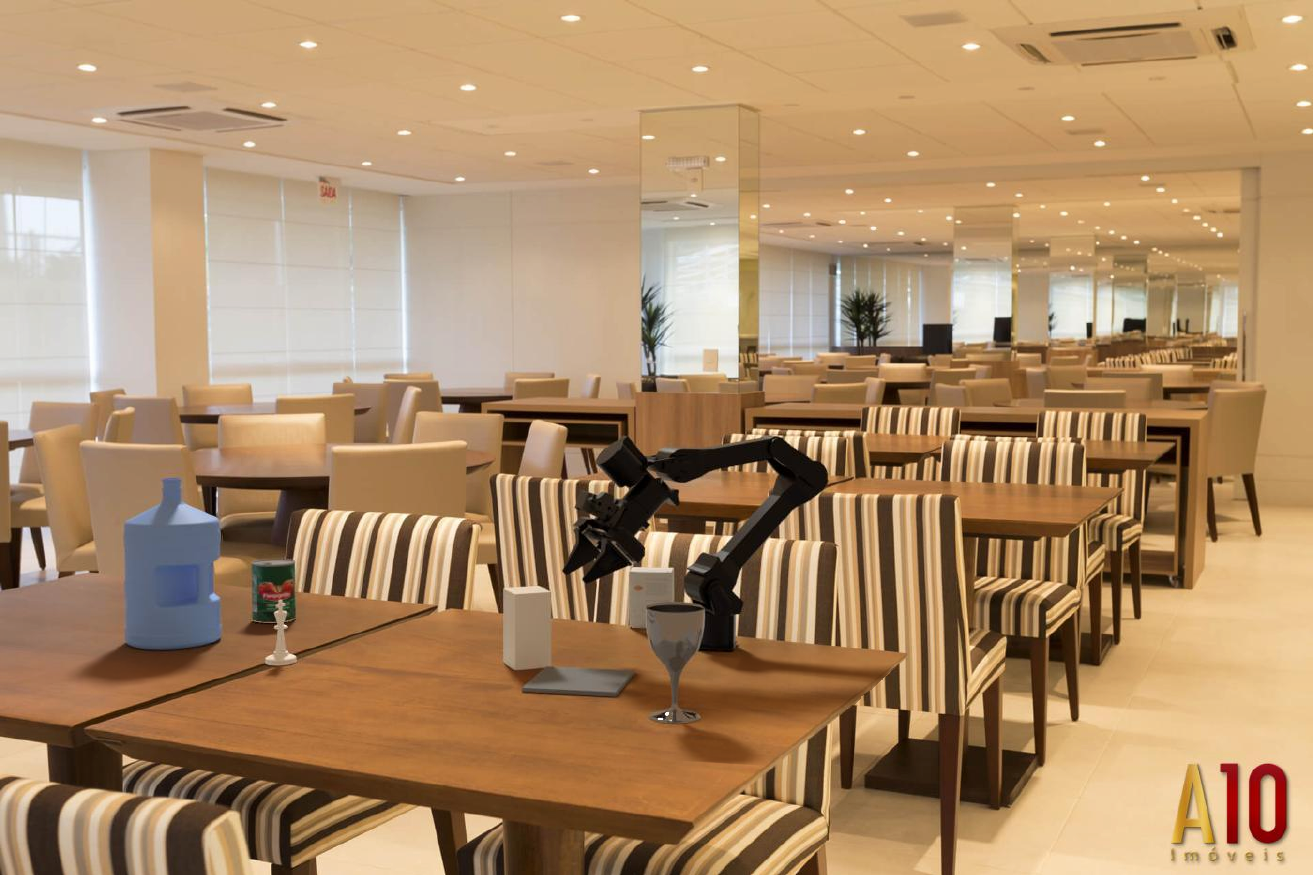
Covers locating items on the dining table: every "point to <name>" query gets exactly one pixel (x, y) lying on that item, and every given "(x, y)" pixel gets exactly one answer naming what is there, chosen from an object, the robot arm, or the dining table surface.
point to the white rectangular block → (526, 627)
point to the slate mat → (579, 681)
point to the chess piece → (280, 641)
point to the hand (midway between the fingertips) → (573, 577)
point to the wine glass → (675, 648)
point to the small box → (648, 591)
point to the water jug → (171, 575)
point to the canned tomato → (273, 588)
